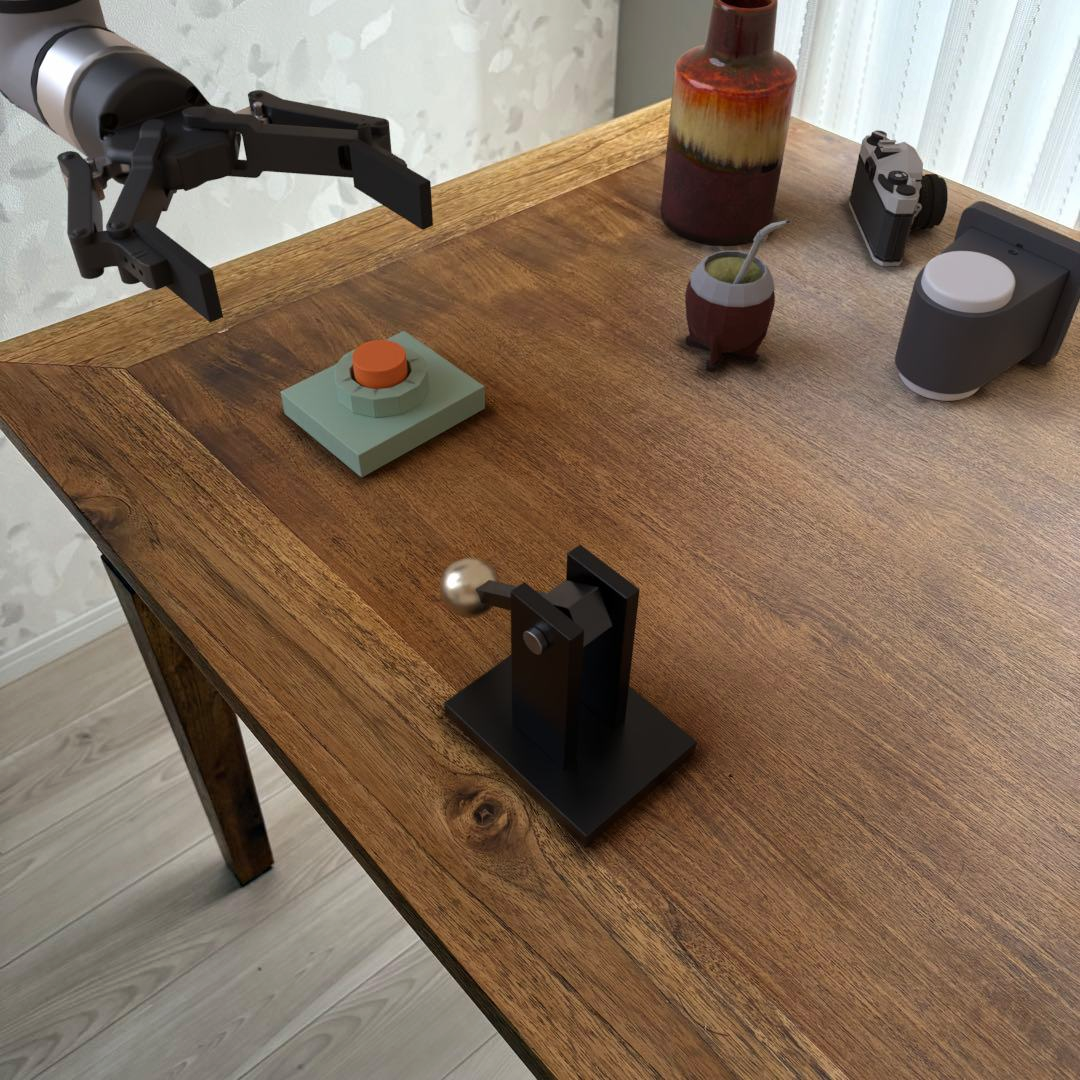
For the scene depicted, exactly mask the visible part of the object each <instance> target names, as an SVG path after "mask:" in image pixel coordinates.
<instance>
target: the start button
mask: <svg viewBox="0 0 1080 1080" xmlns="http://www.w3.org/2000/svg"><path fill="white" fill-rule="evenodd" d="M354 350H355V351H354V352H353V355H352V362H353V369H354V376H355V379H356V381H357V382H358V383H359V384H360V385H361V386H363V387H367V388H372V389H384V388H391V387H394V386H396V385H398V384H399V383H401V382H403V381H404V380H405V378H406V376H407V361H406V352H405V350H404V348H403V347H402V346H401V345H399V344H398V343H396V342H393V341H389V340H386V339H374V340H370V341H367V342H364V343H362V344H360V345H359V346H357V347H356V348H355V349H354Z"/></svg>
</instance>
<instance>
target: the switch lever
mask: <svg viewBox="0 0 1080 1080" xmlns="http://www.w3.org/2000/svg"><path fill="white" fill-rule="evenodd" d="M518 586H519V585H514V584H509V583H506V582H501V581H500V577H499V575H498V573H497V571H496V570H495V568H494V567H493V566H492V565H491V564H489V562H487V561H485V560H483V559H481V558H477V557H471V556H470V557H469V556H468V557H463V558H458V559H457V560H455V561H453V562H452V563H451V564H449V565H448V566H447V567H446V568H445V570H444V571H443V573H442V575H441V577H440V581H439V595H440V597H441V601H442V602H443V604H444V606H445V607H446V608H447V609H448V611H450V612H451V613H452V614H454V615H456V616H458V617H461V618H465V619H475V618H480V617H482V616H484V615H486V614H487V613H489V612H490V611H491V610H492V609H493V608H499V609H502V610H506V611H510V612H511V594H510V592H511V591H512V590H513V589H515V588H516V587H518ZM534 590H535V591H537V592H538V593H539V594H540V595H541V596H543V597H544V598H545V599H546V600H548V601H549V602H550V603H551V604H553V605H554V606H555V607H556V608H558V609H559V610H560V611H561V612H562V613H564V614H565V615H566V616H567V617H569V618H570V619H571V620H572V621H574V622H575V623H576V624H577V625H579V626H580V627H581V628H582V629H584V644H583V647H585V646H586V645H588V644H589V643H590V642H592V641H593V640H594V639H596V638H597V637H598V636H600V635H601V634H602V633H604V632H605V631H606V630H608V629H609V628H611V627H612V626H613V625H612V622H611V619H610V617H609V614H608V611H607V609H606V606H605V603H604V601H603V598H602V595H601V592H600V590H599V587H596V586H592V585H587V584H582V583H577V582H572V581H568V580H566V579H565V580H563V581H562V582H561V583H559V584H558V585H556V586H555V587H553V588H552V589H551V590H549V591H547V592H544V591H541V590H536V589H534Z"/></svg>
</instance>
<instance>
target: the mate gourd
mask: <svg viewBox="0 0 1080 1080" xmlns="http://www.w3.org/2000/svg"><path fill="white" fill-rule="evenodd" d="M791 223H792V220H790V219H788V220H782V221H777V222H776V221H775V222H771V224H769V225H767V226H766V227H764V228H763V229H760V230H759V231H758V233H757V234H756V236H755V238H754V240H753V243H752V245H751V247H750V249H749V251H748V252H744V251H740V250H722V251H717V252H713V253H711V254H709V255H708V256H706V257H704V258H703V259H702V260H701V261H700V262H699V263H698V264H697V266H696V267H695V268H694V270H693V271H692V273H691V274H690V278H689V280H688V283H687V285H686V288H685V293H684V294H685V295H684V303H685V317H686V325H687V329H688V335H687V336H686V337H685V345H687V346H690V347H693V348H697V349H700V350H704V351H708V352H709V359H708V361H707V362H706V365H705V371H707V372H709V373H715V372H716V371H717V369H718V367H719V366H720V364H721V362H722V360H723V359H724V358H725V357H729V358H734V359H737V360H741V361H744V362H749V363H752V364H756V363H758V360H759V357H760V354H759V353H758V351H759V348H760V347H761V345H762V343H763V341H764V339H765V337H766V335H767V333H768V329H769V327H770V322H771V320H772V316H773V312H774V308H775V302H776V296H775V295H776V294H775V281H774V277H773V274H772V272H771V271H770V269H769V268H768V266H767V265H766V264H765V262H763V260H762V259H760V258H759V257H757V254H758V252H759V250H760V248H761V247H762V246H763V244H764V243H765V242H766V241H767V239H768V237H769V234H770V233H772V232H773V231H776V230H778V229H780V228H783V227H784V226H787V225H789V224H791Z"/></svg>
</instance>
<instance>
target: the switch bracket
mask: <svg viewBox="0 0 1080 1080" xmlns="http://www.w3.org/2000/svg"><path fill="white" fill-rule="evenodd" d="M565 575H566V576H565V580H568V581H572V582H577V583H582V584H587V585H592V586H596V587H599V590H600V592H601V595H602V598H603V601H604V603H605V606H606V609H607V611H608V614H609V617H610V619H611V622H612V625H613V626H612V627H611V628H609V629H608V630H606V631H605V632H604V633H602V634H601V635H600V636H598V637H597V638H596V639H594V640H593V641H592V642H590V643H589V644H588V645H586V646H585V647H583V644H584V629H582V628H581V627H580V626H579V625H577V624H576V623H575V622H574V621H572V620H571V619H570V618H569V617H567V616H566V615H565V614H564V613H562V612H561V611H560V610H559V609H558V608H556V607H555V606H554V605H553V604H551V603H550V602H549V601H548V600H546V599H545V598H544V597H543V596H541V595H540V594H539V593H538V592H537V591H538V590H536V589H534V588H533V587H532V586H530V585H529V584H528V583H527V582H525V581H523V582H522V583H521V584H519V585H517V586H518V587H516V588H515V589H513V590H512V591H511V592H510V594H511V611H510V654H509V656H507V657H506V658H505V659H503V660H501V661H500V662H499V663H497V664H496V665H495V666H493V667H492V668H491V669H489V670H488V671H486V672H485V673H483V674H482V675H481V676H479V677H478V678H477V679H474V681H472V682H471V683H469V684H468V685H467V686H465V687H464V688H462V689H461V690H459V692H457V693H456V694H454V695H452V697H450V698H448V699H446V701H445V702H443V705H444V715H445V717H446V718H447V719H449V721H450V722H452V724H454V726H456V727H457V728H458V729H459V730H460V731H461V732H462V733H463V735H465V736H466V737H467V738H468V739H469V740H471V742H473V744H475V745H476V746H477V747H478V748H479V749H480V750H481V751H482V752H483V753H484V754H485V755H487V757H488V758H489V759H490V760H491V761H492V762H493V763H495V765H497V766H498V767H499V768H500V769H501V770H502V771H503V772H504V773H505V774H506V775H507V776H509V778H510V779H512V780H513V782H515V783H516V784H517V785H518V786H519V787H520V788H521V789H522V790H523V791H524V792H525V793H526V794H527V795H528V796H530V797H531V798H532V799H533V800H534V802H536V803H537V804H538V805H539V806H540V807H541V808H542V809H543V810H544V811H545V812H546V813H547V814H548V815H549V816H550V817H552V819H554V820H555V821H556V822H557V823H558V824H559V825H560V826H561V827H562V828H563V829H564V830H565V831H566V832H567V833H568V834H569V835H570V836H571V837H573V838H574V839H575V840H576V842H578V843H579V844H580V845H581V846H582V847H583V848H584V849H587V848H588V847H589V846H590V845H591V844H593V843H594V842H595V841H596V840H597V839H598V838H600V836H602V835H603V834H604V833H605V832H607V830H609V829H610V828H611V827H612V826H613V825H614V824H616V823H617V822H618V821H619V820H620V819H621V818H623V817H624V816H625V815H626V814H627V813H628V812H629V811H631V810H632V809H633V808H634V807H635V806H637V805H638V804H639V803H640V802H641V801H642V800H643V799H644V798H646V797H647V796H648V795H649V794H651V792H653V791H654V790H655V789H656V788H657V787H658V786H659V785H661V784H662V783H663V782H664V781H665V780H667V778H669V777H670V776H671V775H672V774H673V773H675V772H676V770H678V769H679V768H680V767H681V766H682V765H684V764H685V763H687V761H688V760H689V759H691V758H692V757H693V756H694V755H695V753H696V748H697V744H698V741H697V740H696V739H694V738H693V737H692V736H691V735H689V734H688V733H687V732H686V731H685V730H683V729H682V728H681V727H680V726H679V725H677V724H676V723H675V722H674V721H673V720H671V719H670V718H669V717H667V715H665V714H664V713H663V712H662V711H660V710H659V709H658V708H657V707H656V706H654V705H653V704H652V703H651V702H650V701H648V700H647V699H646V698H645V697H643V696H642V695H641V694H640V693H639V692H637V691H636V690H635V689H634V688H632V686H630V681H631V672H632V663H633V655H634V645H635V635H636V628H637V627H636V626H637V618H638V609H639V602H640V601H639V600H640V591H641V590H640V588H638V587H637V586H636V585H634V584H633V583H632V582H631V581H629V580H628V579H627V578H625V577H624V576H623V575H621V574H620V573H618V572H617V570H615V569H613V568H612V567H611V566H610V565H608V564H607V563H606V562H604V561H603V560H602V559H600V558H599V557H597V555H595V554H593V553H592V552H591V551H589V550H588V549H587V548H586V547H584V546H583V545H582V544H578V545H577V546H576V547H573V549H571V550H569V551H568V552H567V554H566V574H565ZM535 590H536V591H535Z"/></svg>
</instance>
